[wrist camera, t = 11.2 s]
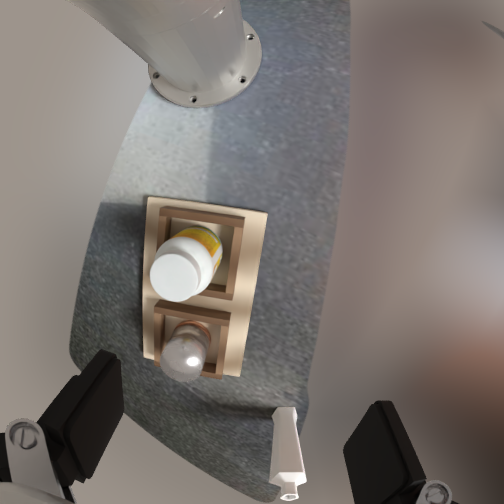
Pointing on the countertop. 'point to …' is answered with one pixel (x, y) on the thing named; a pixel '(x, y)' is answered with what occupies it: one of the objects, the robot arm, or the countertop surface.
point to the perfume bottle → (286, 454)
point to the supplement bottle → (186, 263)
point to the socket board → (219, 289)
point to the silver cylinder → (186, 351)
